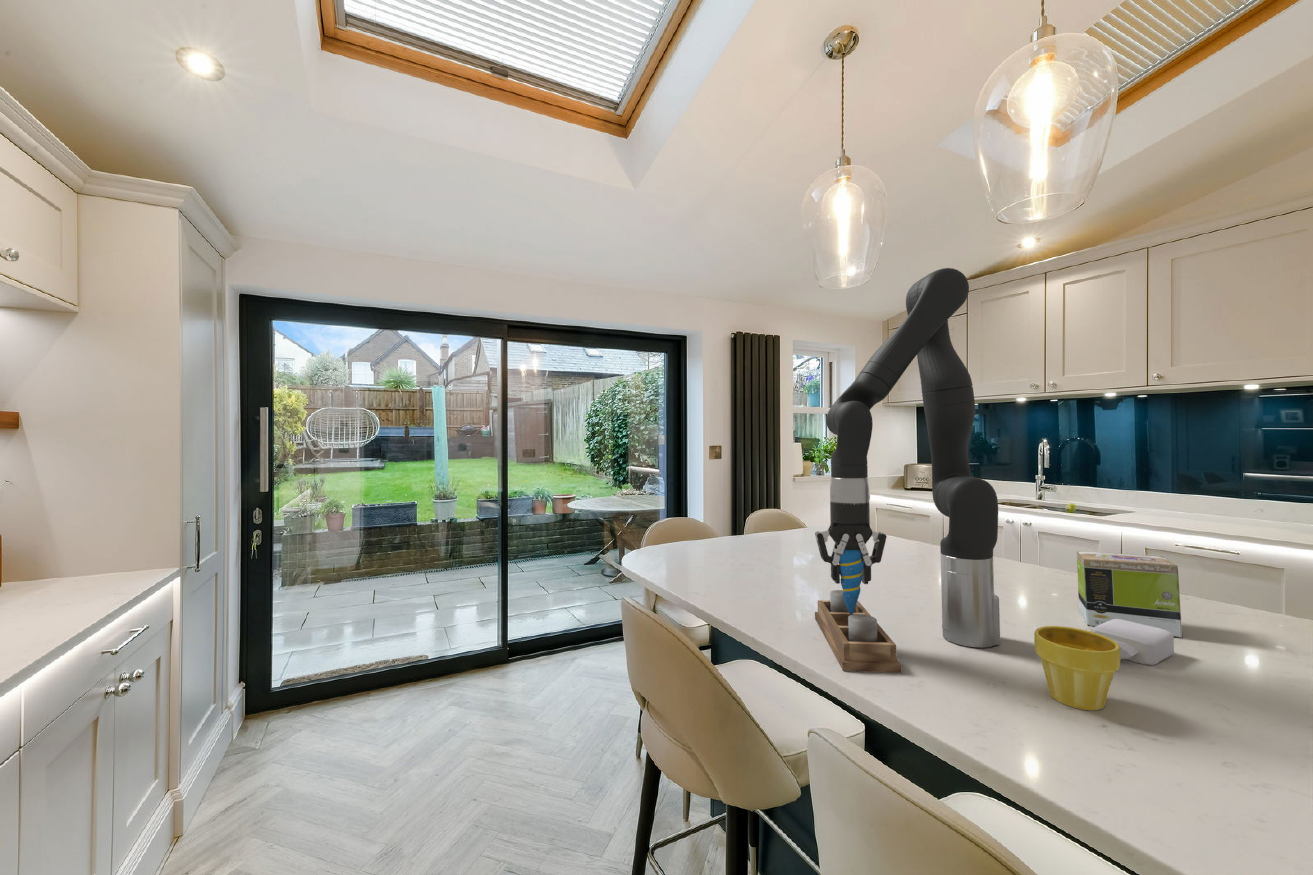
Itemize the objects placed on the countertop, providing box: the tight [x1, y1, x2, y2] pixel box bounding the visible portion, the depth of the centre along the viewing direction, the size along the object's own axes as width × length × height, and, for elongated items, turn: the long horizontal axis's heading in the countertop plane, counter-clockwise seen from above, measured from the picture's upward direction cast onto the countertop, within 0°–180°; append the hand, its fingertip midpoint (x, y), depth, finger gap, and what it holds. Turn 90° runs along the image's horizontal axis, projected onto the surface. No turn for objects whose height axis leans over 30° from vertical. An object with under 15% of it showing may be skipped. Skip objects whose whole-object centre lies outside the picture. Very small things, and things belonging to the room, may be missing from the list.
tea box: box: [1076, 550, 1183, 638], centre depth 110 cm, size 15×10×15 cm, turn 58°
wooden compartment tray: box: [814, 589, 903, 674], centre depth 104 cm, size 10×27×8 cm, turn 173°
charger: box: [1090, 619, 1175, 666], centre depth 95 cm, size 5×9×15 cm
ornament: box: [838, 549, 864, 614], centre depth 104 cm, size 5×5×15 cm
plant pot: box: [1033, 625, 1121, 711], centre depth 80 cm, size 10×10×10 cm
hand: (850, 582), depth 104 cm, fingers closed on ornament, 5 cm apart
